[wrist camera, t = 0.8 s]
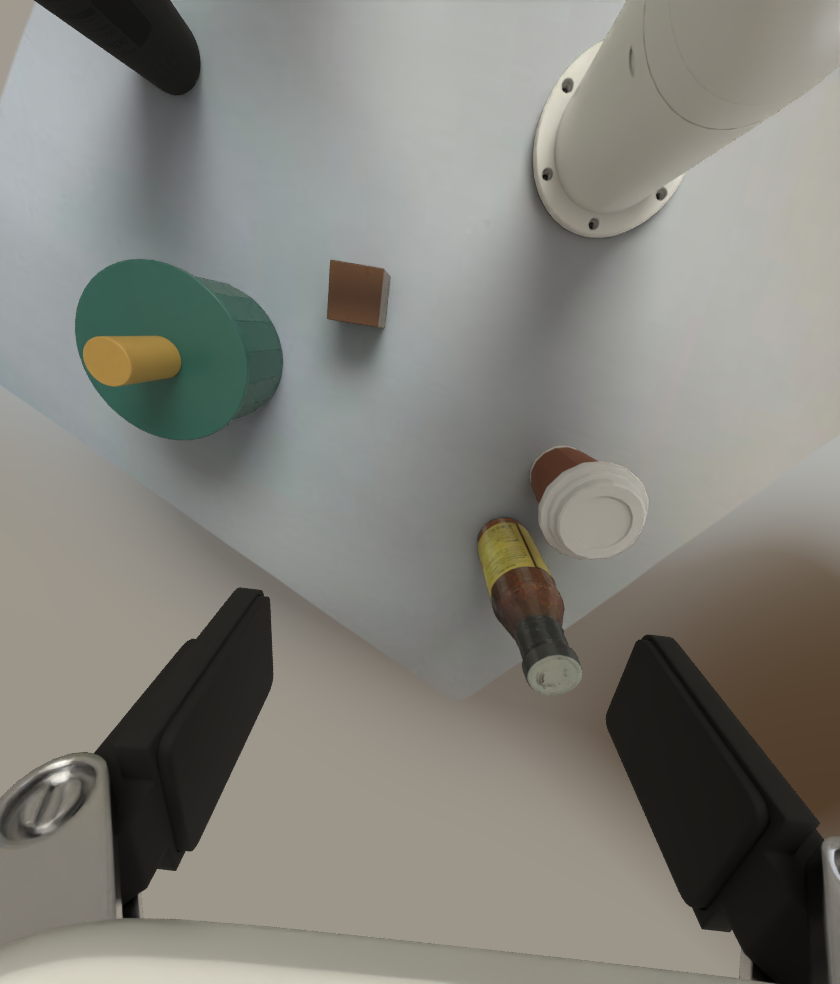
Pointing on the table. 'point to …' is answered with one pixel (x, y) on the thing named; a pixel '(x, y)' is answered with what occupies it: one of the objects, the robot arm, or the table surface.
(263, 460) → the table surface
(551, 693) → the sauce bottle
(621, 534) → the coffee cup
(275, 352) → the tin
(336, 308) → the block
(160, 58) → the drinking cup
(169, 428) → the tin lid
